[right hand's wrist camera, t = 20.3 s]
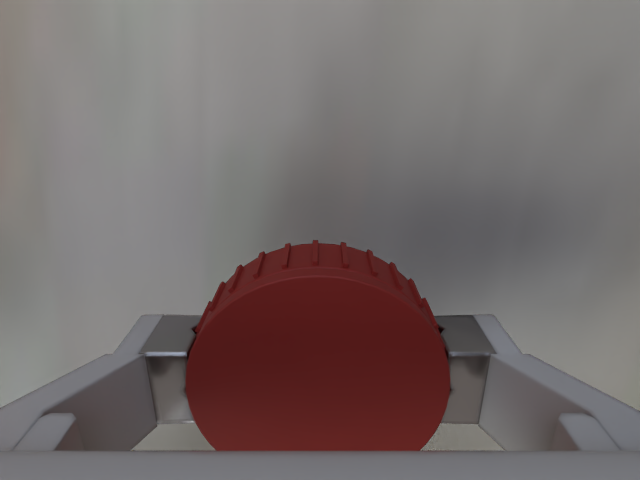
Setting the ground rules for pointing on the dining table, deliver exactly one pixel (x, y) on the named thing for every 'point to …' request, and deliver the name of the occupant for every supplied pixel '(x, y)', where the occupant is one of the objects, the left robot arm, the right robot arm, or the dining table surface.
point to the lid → (318, 356)
